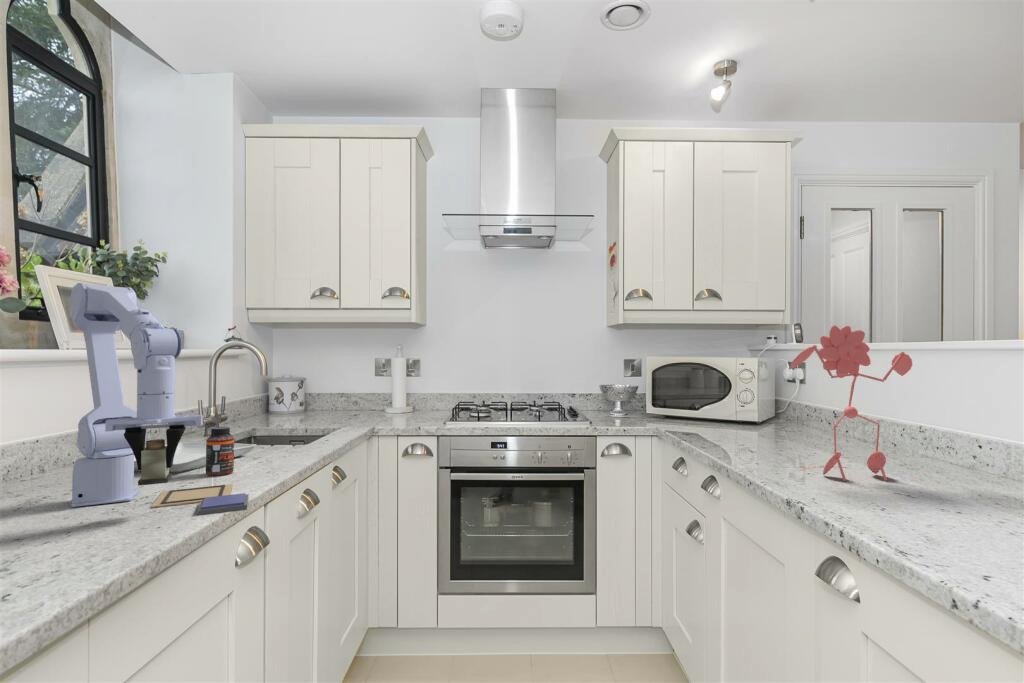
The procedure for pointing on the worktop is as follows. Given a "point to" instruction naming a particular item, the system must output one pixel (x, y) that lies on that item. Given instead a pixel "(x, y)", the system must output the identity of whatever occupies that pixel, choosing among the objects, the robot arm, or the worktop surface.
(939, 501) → the worktop surface
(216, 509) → the ink pad
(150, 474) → the stamp
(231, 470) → the supplement bottle
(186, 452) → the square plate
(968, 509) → the worktop surface
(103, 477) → the robot arm
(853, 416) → the figurine
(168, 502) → the sheet
